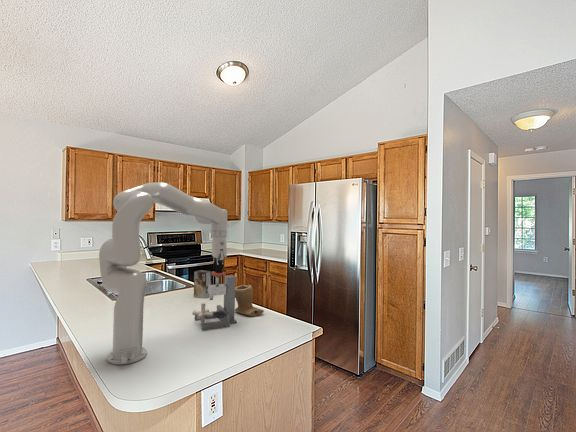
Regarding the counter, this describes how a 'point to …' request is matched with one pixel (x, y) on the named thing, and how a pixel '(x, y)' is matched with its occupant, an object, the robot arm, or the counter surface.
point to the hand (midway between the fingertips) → (217, 271)
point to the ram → (216, 286)
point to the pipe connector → (202, 313)
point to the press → (223, 313)
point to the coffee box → (202, 283)
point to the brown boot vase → (246, 301)
